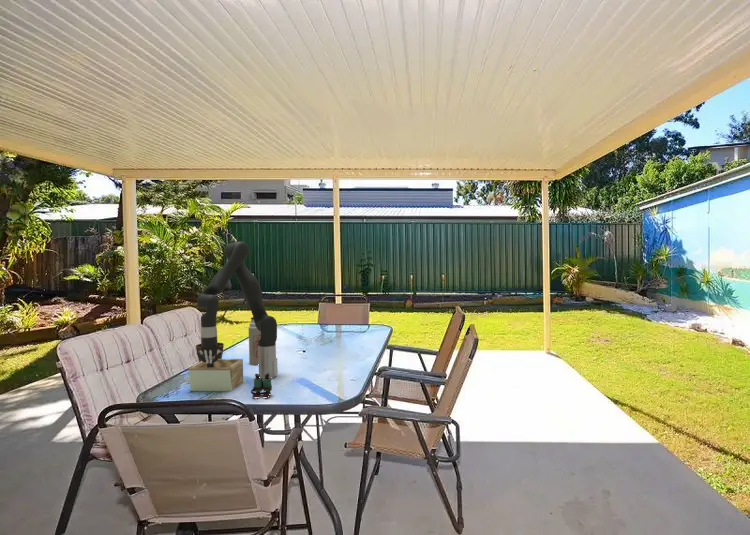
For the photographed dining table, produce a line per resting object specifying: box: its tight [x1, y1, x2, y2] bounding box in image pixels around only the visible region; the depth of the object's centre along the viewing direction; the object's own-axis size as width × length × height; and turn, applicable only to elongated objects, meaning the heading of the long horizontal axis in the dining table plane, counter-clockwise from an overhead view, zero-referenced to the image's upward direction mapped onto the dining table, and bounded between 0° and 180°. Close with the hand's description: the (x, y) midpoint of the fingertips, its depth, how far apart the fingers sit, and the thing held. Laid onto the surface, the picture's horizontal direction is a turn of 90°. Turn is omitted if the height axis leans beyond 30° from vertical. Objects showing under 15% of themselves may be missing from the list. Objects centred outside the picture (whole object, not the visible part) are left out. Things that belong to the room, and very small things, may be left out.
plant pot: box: [195, 341, 225, 363], centre depth 281 cm, size 15×15×16 cm
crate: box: [191, 358, 244, 391], centre depth 255 cm, size 20×16×12 cm
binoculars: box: [250, 373, 273, 398], centre depth 234 cm, size 9×11×10 cm
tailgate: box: [188, 366, 233, 392], centre depth 245 cm, size 20×1×12 cm, turn 85°
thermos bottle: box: [248, 316, 261, 366], centre depth 302 cm, size 8×8×28 cm
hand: (210, 370), depth 245 cm, fingers closed
